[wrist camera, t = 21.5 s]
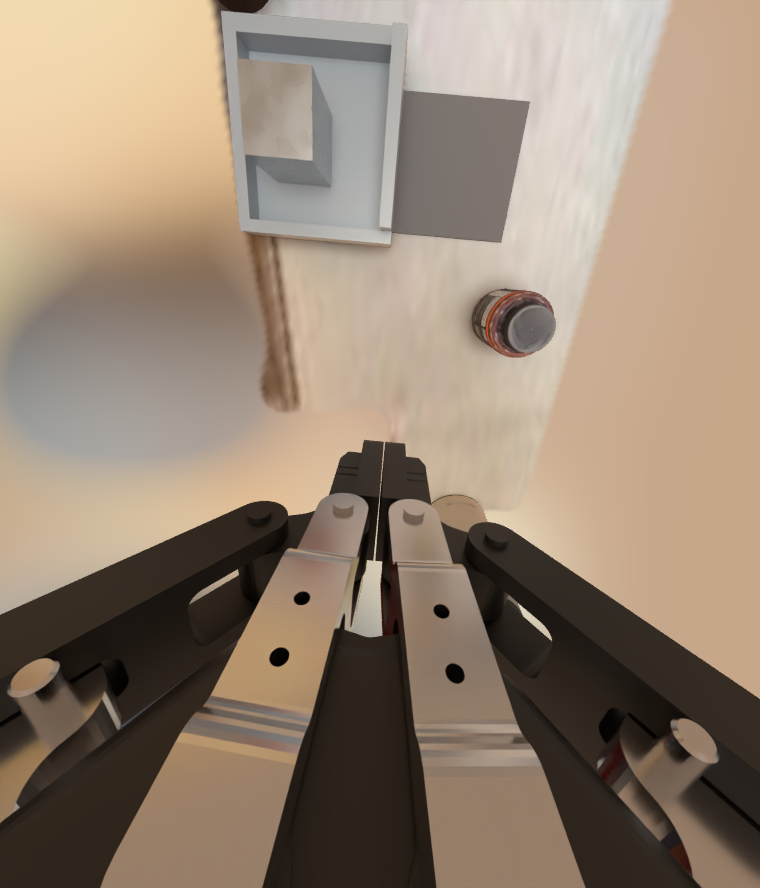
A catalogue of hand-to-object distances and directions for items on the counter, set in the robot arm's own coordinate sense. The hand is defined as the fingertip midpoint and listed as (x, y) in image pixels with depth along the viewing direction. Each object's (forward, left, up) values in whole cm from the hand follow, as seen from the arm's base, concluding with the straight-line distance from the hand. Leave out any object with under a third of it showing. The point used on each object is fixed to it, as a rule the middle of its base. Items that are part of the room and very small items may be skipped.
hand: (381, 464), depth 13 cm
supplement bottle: (+3, -12, -31) cm, 34 cm away
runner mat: (+16, +3, -31) cm, 35 cm away
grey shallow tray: (+16, +8, -31) cm, 36 cm away
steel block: (+16, +9, -28) cm, 33 cm away
